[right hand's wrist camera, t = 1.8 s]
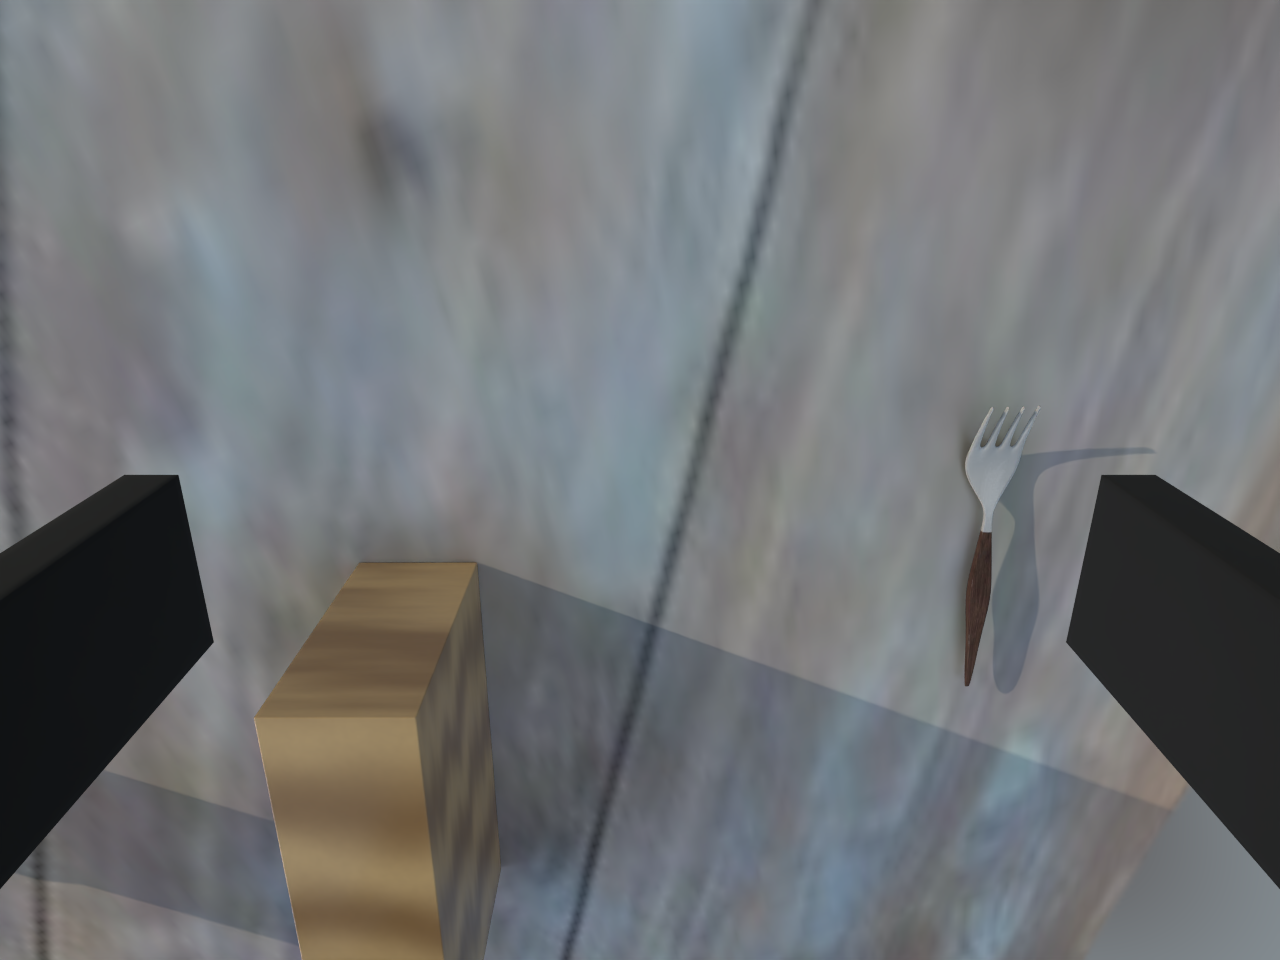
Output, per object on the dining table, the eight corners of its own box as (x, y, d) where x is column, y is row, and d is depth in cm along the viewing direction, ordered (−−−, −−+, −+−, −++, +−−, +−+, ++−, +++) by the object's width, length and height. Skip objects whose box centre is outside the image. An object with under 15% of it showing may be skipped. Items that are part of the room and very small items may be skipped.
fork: (938, 681, 46) (951, 703, 44) (971, 395, 40) (987, 408, 38) (987, 679, 46) (1002, 702, 44) (1026, 394, 40) (1046, 406, 38)
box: (359, 562, 43) (253, 718, 32) (477, 562, 43) (415, 717, 32) (400, 868, 51) (327, 1088, 39) (501, 868, 51) (458, 1088, 39)
